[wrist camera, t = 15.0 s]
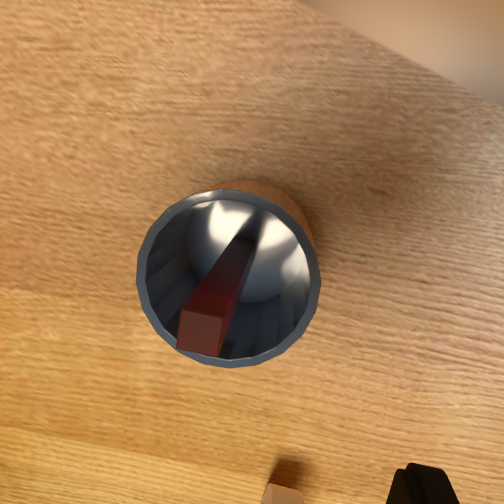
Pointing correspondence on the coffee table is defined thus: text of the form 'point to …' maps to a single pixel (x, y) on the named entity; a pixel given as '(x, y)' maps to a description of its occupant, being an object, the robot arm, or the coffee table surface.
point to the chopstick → (215, 300)
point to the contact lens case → (281, 495)
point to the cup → (259, 278)
